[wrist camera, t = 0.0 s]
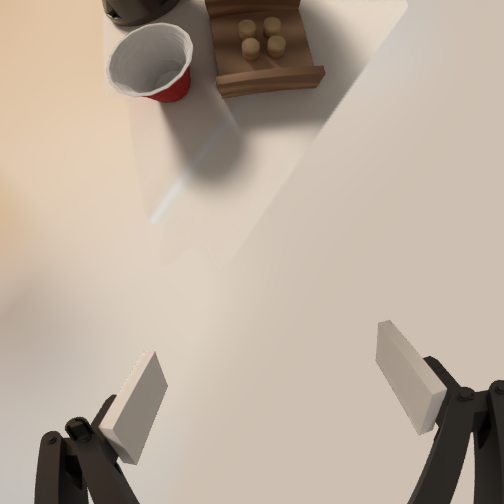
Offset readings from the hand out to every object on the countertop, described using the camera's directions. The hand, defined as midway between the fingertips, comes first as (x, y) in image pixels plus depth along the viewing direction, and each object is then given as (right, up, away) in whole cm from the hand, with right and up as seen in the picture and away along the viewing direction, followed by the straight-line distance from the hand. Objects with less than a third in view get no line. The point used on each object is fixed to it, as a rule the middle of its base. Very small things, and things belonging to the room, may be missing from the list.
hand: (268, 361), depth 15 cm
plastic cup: (-13, +32, +22) cm, 40 cm away
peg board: (+1, +37, +20) cm, 42 cm away
